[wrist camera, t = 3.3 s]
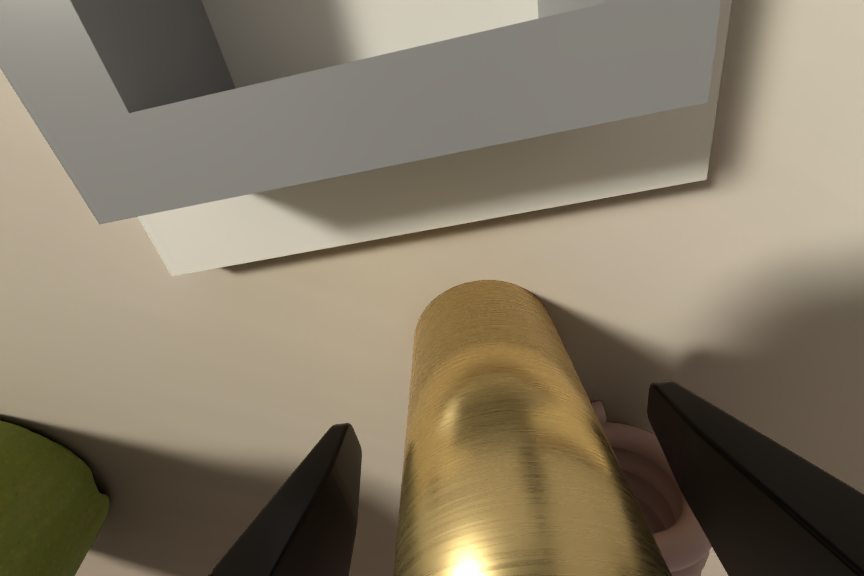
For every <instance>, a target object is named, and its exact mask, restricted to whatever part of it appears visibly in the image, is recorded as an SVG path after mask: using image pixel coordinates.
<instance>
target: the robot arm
mask: <svg viewBox="0 0 864 576" xmlns="http://www.w3.org/2000/svg"><path fill="white" fill-rule="evenodd" d="M647 413H648V418H649V421H650V423H651V426H652V428H653V430H654V432H655V435H656V437H657V439H658V441H659V444H660V446H661V448H662V450H663V453H664V455H665V457H666V460H667V462H668V464H669V466H670V469H671V471H672V473H673V475H674V478H675V480H676V482H677V484H678V486H679V488H680V491H681V492H682V494H683V496H684V498H685V500H686V502H687V503H688V505H689V507H690V509H691V510H692V512H693V514H694V516H695V517H696V519H697V521H698V523H699V525H700V526H701V528H702V530H703V532H704V533H705V535H706V537H707V539H708V540H709V542H710V544H711V546H712V547H713V549H714V551H715V553H716V554H717V556H718V558H719V560H720V561H721V563H722V565H723V567H724V568H725V570H726V572H727V574H728V575H729V576H864V494H862V493H861V492H859V491H857V490H856V489H854V488H852V487H851V486H849V485H847V484H845V483H844V482H842V481H840V480H839V479H837V478H835V477H834V476H832V475H830V474H829V473H827V472H825V471H824V470H822V469H820V468H819V467H817V466H815V465H813V464H812V463H810V462H808V461H807V460H805V459H803V458H802V457H800V456H798V455H797V454H795V453H793V452H792V451H790V450H788V449H786V448H785V447H783V446H781V445H780V444H778V443H776V442H775V441H773V440H771V439H770V438H768V437H766V436H765V435H763V434H761V433H760V432H758V431H756V430H754V429H753V428H751V427H749V426H748V425H746V424H744V423H743V422H741V421H739V420H738V419H736V418H734V417H733V416H731V415H729V414H727V413H726V412H724V411H722V410H721V409H719V408H717V407H716V406H714V405H712V404H711V403H709V402H707V401H706V400H704V399H702V398H701V397H699V396H697V395H695V394H694V393H692V392H690V391H689V390H687V389H685V388H684V387H682V386H680V385H679V384H677V383H675V382H673V381H662V382H655V383H652V384H651V385H650V388H649V396H648V407H647ZM361 460H362V451H361V446H360V444H359V441H358V439H357V436H356V434H355V432H354V429H353V427H352V425H351V424H349V423H344V424H336V425H333V426H332V427H331V428H330V429H329V430H328V431H327V432H326V434H325V435H324V436H323V437H322V438H321V440H320V441H319V442H318V443H317V444H316V446H315V447H314V448H313V449H312V450H311V452H310V453H309V454H308V455H307V457H306V458H305V459H304V460H303V461H302V463H301V464H300V465H299V466H298V467H297V469H296V470H295V471H294V472H293V473H292V475H291V476H290V477H289V478H288V479H287V481H286V482H285V483H284V484H283V486H282V487H281V488H280V489H279V490H278V492H277V493H276V494H275V495H274V496H273V498H272V499H271V500H270V501H269V502H268V504H267V505H266V506H265V507H264V508H263V510H262V511H261V512H260V513H259V515H258V516H257V517H256V518H255V519H254V521H253V522H252V523H251V524H250V525H249V527H248V528H247V529H246V530H245V531H244V533H243V534H242V535H241V536H240V538H239V539H238V540H237V541H236V542H235V544H234V545H233V546H232V547H231V548H230V550H229V551H228V552H227V553H226V554H225V556H224V557H223V558H222V559H221V560H220V562H219V563H218V564H217V565H216V567H215V568H214V569H213V572H212V574H209V575H208V576H349V570H350V564H351V558H352V552H353V546H354V541H355V535H356V528H357V519H358V505H359V490H360V475H361Z"/></svg>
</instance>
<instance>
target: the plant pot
mask: <svg viewBox="0 0 864 576" xmlns="http://www.w3.org/2000/svg"><path fill="white" fill-rule="evenodd" d="M108 511H109V498H108V496H107V495H105V494H101V493H100V492H99V491H98V489H97V487H96V485H95V482H94V478H93V475H92V471H91V469H90V468H89V467H88V466H87V465H86V464H85V462H83V461H82V460H81V459H79V457H78V456H76V455H75V454H74V453H72V452H71V451H70V450H68V449H67V448H65V447H64V446H62V445H60V444H59V443H55V442H53V441H51V440H49V439H47V438H45V437H44V436H41V435H39V434H36V433H34V432H32V431H29V430H28V429H26V428H24V427H21V426H19V425H16V424H12V423H9V422H5V421H0V576H75V574H76V572H77V570H78V569H79V567H80V565H81V563H82V561H83V560H84V558H85V556H86V554H87V552H88V551H89V549H90V547H91V545H92V543H93V541H94V540H95V538H96V536H97V534H98V532H99V530H100V529H101V527H102V525H103V523H104V521H105V519H106V517H107V515H108Z"/></svg>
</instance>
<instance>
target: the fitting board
mask: <svg viewBox="0 0 864 576" xmlns="http://www.w3.org/2000/svg"><path fill="white" fill-rule="evenodd" d="M731 6H732V0H0V68H1V70H2V71H3V73H4V74H5V76H6V78H7V79H8V81H9V82H10V84H11V86H12V87H13V89H14V90H15V92H16V93H17V95H18V97H19V98H20V100H21V101H22V103H23V104H24V106H25V108H26V109H27V111H28V112H29V114H30V115H31V117H32V119H33V120H34V122H35V123H36V125H37V127H38V128H39V130H40V131H41V133H42V134H43V136H44V138H45V139H46V141H47V142H48V144H49V145H50V147H51V149H52V150H53V152H54V153H55V155H56V157H57V158H58V160H59V161H60V163H61V164H62V166H63V168H64V169H65V171H66V172H67V174H68V175H69V177H70V179H71V180H72V182H73V183H74V185H75V186H76V188H77V190H78V191H79V193H80V194H81V196H82V198H83V199H84V201H85V202H86V204H87V205H88V207H89V209H90V210H91V212H92V213H93V215H94V216H95V218H96V220H97V221H98V223H99V224H103V223H108V222H113V221H118V220H123V219H128V218H133V217H138V219H139V221H140V222H141V224H142V226H143V227H144V229H145V231H146V233H147V234H148V236H149V238H150V240H151V241H152V243H153V245H154V246H155V248H156V250H157V252H158V253H159V255H160V257H161V259H162V260H163V262H164V264H165V265H166V267H167V269H168V271H169V272H170V274H171V276H177V275H182V274H188V273H193V272H199V271H204V270H210V269H215V268H221V267H226V266H232V265H237V264H243V263H248V262H254V261H260V260H265V259H271V258H276V257H282V256H287V255H293V254H298V253H304V252H309V251H315V250H320V249H326V248H331V247H337V246H342V245H348V244H354V243H359V242H365V241H370V240H376V239H381V238H387V237H392V236H398V235H403V234H409V233H414V232H420V231H425V230H431V229H436V228H442V227H448V226H453V225H459V224H464V223H470V222H475V221H481V220H486V219H492V218H497V217H503V216H508V215H514V214H519V213H525V212H530V211H536V210H542V209H547V208H553V207H558V206H564V205H569V204H575V203H580V202H586V201H591V200H597V199H602V198H608V197H613V196H619V195H624V194H630V193H636V192H641V191H647V190H652V189H658V188H663V187H669V186H674V185H680V184H685V183H691V182H696V181H702V180H707V173H708V166H709V159H710V152H711V145H712V138H713V131H714V124H715V117H716V110H717V103H718V96H719V89H720V82H721V75H722V68H723V62H724V55H725V48H726V41H727V34H728V27H729V20H730V13H731Z"/></svg>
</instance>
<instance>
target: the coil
mask: <svg viewBox="0 0 864 576" xmlns="http://www.w3.org/2000/svg"><path fill="white" fill-rule="evenodd" d="M591 404H592V407H593V409H594V411H595V413H596V415H597V417H598V419H599V421H600V424H601V426H602V428H603V430H604V432H605V434H606V436H607V438H608V441H609V443H610V445H611V447H612V449H613V451H614V453H615V455H616V458H617V460H618V462H619V464H620V466H621V468H622V470H623V472H624V475H625V477H626V479H627V481H628V483H629V485H630V487H631V489H632V492H633V494H634V496H635V498H636V500H637V502H638V504H639V506H640V509H641V511H642V513H643V515H644V517H645V519H646V521H647V523H648V526H649V528H650V530H651V532H652V534H653V536H654V538H655V540H656V543H657V545H658V547H659V549H660V551H661V553H662V555H663V557H664V560H665V562H666V564H667V566H668V568H669V570H670V572H671V574H672V576H701V571H702V569H703V567H704V565H705V563H706V561H707V558H708V556H709V550H710V548H711V547H712V546H711V544H710V542H709V540H708V539H707V537H706V535H705V533H704V532H703V530H702V528H701V526H700V525H699V523H698V521H697V519H696V517H695V516H694V514H693V512H692V510H691V509H690V507H689V505H688V503H687V502H686V500H685V498H684V496H683V494H682V492H681V491H680V488H679V486H678V484H677V482H676V480H675V478H674V475H673V473H672V471H671V469H670V466H669V464H668V462H667V460H666V457H665V455H664V453H663V450H662V448H661V446H660V444H659V441H658V439H657V437H656V435H655V434H652V433H650V432H648V431H646V430H643V429H640V428H637V427H634V426H630V425H626V424H621V423H611V422H606V414H605V410H604V407H603V404H602V402H601V401H596V402H591Z"/></svg>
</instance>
